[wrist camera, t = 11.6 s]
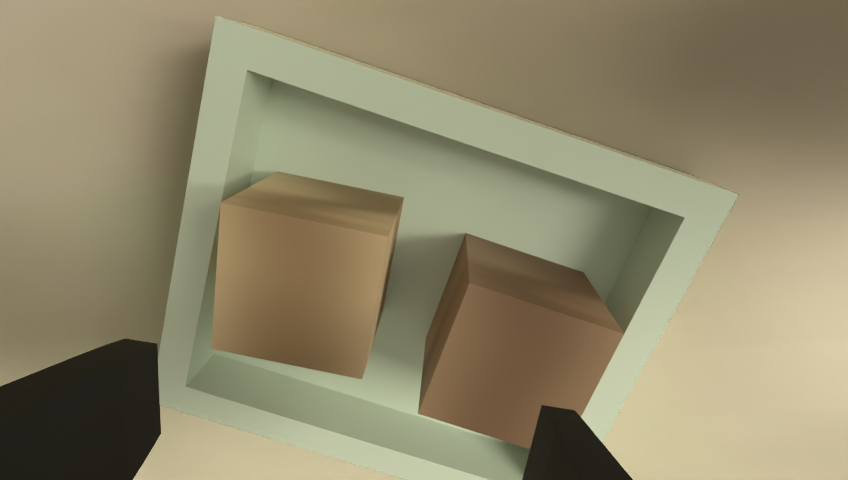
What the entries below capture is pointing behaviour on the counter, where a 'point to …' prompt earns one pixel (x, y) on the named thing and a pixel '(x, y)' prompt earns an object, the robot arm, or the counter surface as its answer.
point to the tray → (414, 244)
